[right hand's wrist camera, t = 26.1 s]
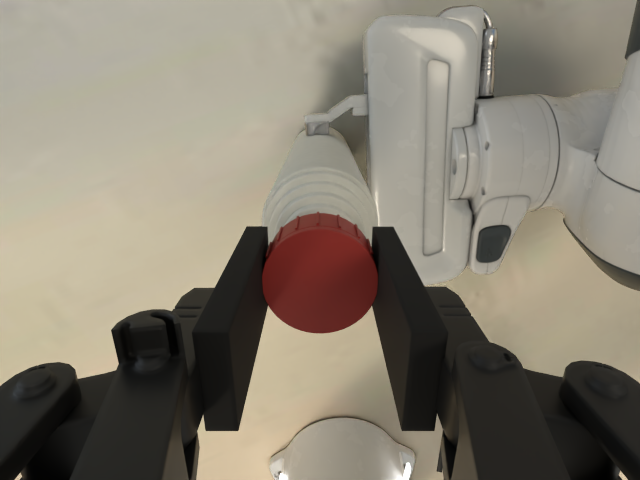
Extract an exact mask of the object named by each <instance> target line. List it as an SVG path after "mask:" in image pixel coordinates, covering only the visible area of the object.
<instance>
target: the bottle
mask: <svg viewBox="0 0 640 480" xmlns="http://www.w3.org/2000/svg"><path fill="white" fill-rule="evenodd" d="M317 212H319V213H327V214H333V215H337V214H338V215H340V217H342V218H344V219H346V220H348V221H350V222H351V223H353V224H354V225H355V224H357V226H358V228H359V229H360V230H361V232H362V233H363V234H364V236H365V237H366V239H369V241H370V244H371V246H372V227H378V213H377V208H376V205H375V202H374V200H373V198H372V195H371V193H370V191H369V189H368V187H367V185H366V183H365V181H364V178H363V176H362V174H361V172H360V170H359V168H358V166H357V164H356V161H355V159H354V157H353V155H352V153H351V151H350V149H349V147H348V144H347V142H346V140H345V139H344V137H343V136H342V135H341V134H340V133H339V132H338V131H337V130H335V129H333V128H331V127H329V134H328V135H320V134H318V133H317V134H316V135H313V136H306V132H305V130H303V131H302V132H301V133H300V134H299V135H298V136H297V137H296V139H295V140H294V142H293V145H292V147H291V149H290V151H289V153H288V155H287V157H286V159H285V162H284V164H283V166H282V168H281V170H280V172H279V174H278V176H277V179H276V181H275V183H274V185H273V187H272V189H271V191H270V193H269V196H268V198H267V200H266V202H265V205H264V209H263V213H262V227H268V244H269V243H270V242H272V241H273V239H274V237H275V236H276V234H277V233H278V232H279V230H280V227H281V226H282V227H284V226H285V225H286V224H287V223H289V222H290V221H292V220H294V219H296V218H297V216H299V217H301V216H303V215H307V214H313V213H317Z"/></svg>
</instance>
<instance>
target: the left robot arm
mask: <svg viewBox="0 0 640 480" xmlns="http://www.w3.org/2000/svg"><path fill="white" fill-rule="evenodd" d="M484 22H485V25H486V29H483V23H484ZM497 42H498V33H497V28H493V27H492V21H491V18H490V16H489V15H488V13H487V12H486V11H485V10H484V9H482V8H481V7H478V6H474V5H468V6H456V7H450V8H447V9H445V10H443V11H442V12H440V13H439V14H438V15H437V16H436V17H434V16H421V15H386V16H381V17H378V18H376V19H375V20H374V21H373V22H372V23H371V24H370V25H369V26H368V27H367V29H366V30H365V32H364V34H363V65H364V94H360V95H349V96H348V97H346V98H345V99H344V100H342V101H341V102H339V103H338V104H337V105H335V106H334V107H332V108H331V109H330V110H328V112H326V113H313V114H305V115H304V122H305V132H306V136H313V135H316V134H317V133H318V134H320V135H328V134H329V123H330V122H332V121H333V120H335V119H336V118H338V117H339V116H341V115H342V114H343V113H345V112H346V111H348V110H349V109H350V113H351V114H352V115H353V116H364V115H365V130H366V162H367V187H368V189H369V191H370V193H371V195H372V198H373V200H374V202H375V205H376V208H377V213H378V227H394V229H395V231H396V233H397V235H398V236H399V238H400V240H401V242H402V244H403V246H404V248H405V250H406V252H407V254H408V256H409V258H410V259H411V261H412V263H413V265H414V267H415V269H416V271H417V273H418V275H419V277H420V279H421V281H422V283H423V284H424V286H426V285H432V284H438V283H443V282H446V281H449V280H452V279H454V278H456V277H457V276H458V275H460V274H461V273H462V272H463V270H464V269H465V267H466V266H467V267H468V268H469V269H470V270H471V271H472V272H473V273H475V274H481V275H483V274H491V273H494V272H495V271H496V270H497V269H498V268H499V266H500V264H501V262H502V260H503V258H504V255H505V253H506V251H507V249H508V247H509V244H510V242H511V240H512V238H513V236H514V234H515V232H516V230H517V228H518V227H519V225H520V223H521V221H522V220H523V218H524V216H525V215H526V213H527V212H532V211H535V210H539V209H543V208H553V209H556V210H558V211H560V212H561V213H562V214H563V215H564V219H563V221H564V224H565V226H566V227H567V229H568V230H569V232H570V233H571V234H572V236H573V237H574V238H575V240H576V241H577V242H578V244H579V245H580V246H581V247H582V248H583V250H584V251H585V252H586V253H587V254H588V256H589V257H590V258H591V259H592V260H593V262H594V263H595V264H596V265H597V266H598V267H599V268H600V269H601V270H602V271H603V272H604V273H606V274H607V275H608V276H609V277H611V278H612V279H613V280H615V281H616V282H618V283H620V284H622V285H624V286H626V287H629V288H631V289H634V290H638V291H640V0H637V3H636V8H635V12H634V17H633V22H632V26H631V31H630V36H629V40H628V45H627V50H626V54H625V59H626V60H627V62H626V65H625V68H624V71H623V75H622V78H621V81H620V85H619V88H603V89H592V90H586V91H582V92H579V93H577V94H574V95H572V96H568V97H552V96H549V95H544V94H527V95H514V96H501V97H494V96H493V92H494V78H495V69H494V68H495V65H494V64H495V61H494V60H495V57H494V56H495V49H497ZM478 96H479V97H478ZM475 97H477V99H475ZM414 464H415V454H414V452H413V451H412V450H411V449H410V448H408V447H406V446H403V445H401V444H398V443H396V442H395V441H394V440H393V439H392V438H391V437H390V436H389V435H388V434H387V433H386V432H385V431H384V430H382V429H381V428H379V427H378V426H376V425H374V424H372V423H369V422H367V421H364V420H360V419H354V418H332V419H326V420H322V421H319V422H316V423H314V424H312V425H310V426H308V427H306V428H305V429H303V430H302V431H300V432H299V433H298V434H297V435H296V436H295V437H294V438H293V440H292V441H291V443H290V444H289V445H288V446H287V448H285V449H284V450H282V451H280V452H279V453H277V454H275V455H274V456H273V457H272V458H271V459H270V464H269V468H270V471H271V474H272V476H273V478H274V480H410V478H411V475H412V471H413V468H414Z"/></svg>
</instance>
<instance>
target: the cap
mask: <svg viewBox="0 0 640 480" xmlns="http://www.w3.org/2000/svg"><path fill="white" fill-rule="evenodd" d="M265 258H266V261H265V264H264V268H263V272H262V284H263V294H264V297H265V300H266V302H267V304H268V306H269V307H270V309H271V310H272V311H273V313H274V314H275V315H276V316H277V317H278V318H279V319H281V320H282V321H283V322H285V323H286V324H288V325H289V326H291V327H293V328H296V329H298V330H301V331H305V332H310V333H330V332H335V331H339V330H342V329H345V328H347V327H349V326H351V325H352V324H354V323H356V322H357V321H358V320H360V319H361V318H362V317H363V316H364V315H365V314H366V313H367V312H368V310H369V309H370V308H371V306H372V304H373V302H374V300H375V298H376V295H377V286H378V271H377V267H376V264H375V261H374V257H373V251H372V248H371V244H370V241H369V239H366V237H365V236H364V234H363V233H362V232H361V230H360V229H359V228H358V226H357V224H355V225H354V224H353V223H351V222H350V221H348V220H346V219H344V218H342V217H340V215H338V214H337V215H333V214H327V213H319V212H317V213H313V214H307V215H303V216H301V217H299V216H297V218H296V219H294V220H292V221H290V222H289V223H287V224H286V225H285V226H284V227H282V226H281V227H280V230H279V232H278V233H277V234H276V236H275V237H274V239H273V241H272V242H270V243H269V246H268V249H267V253H266V256H265Z"/></svg>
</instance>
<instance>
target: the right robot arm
mask: <svg viewBox="0 0 640 480" xmlns="http://www.w3.org/2000/svg"><path fill="white" fill-rule="evenodd" d="M268 246H269V244H268V227H246V229H245V231H244V233H243V235H242V237H241V239H240V241H239V242H238V244H237V246H236V248H235V250H234V252H233V254H232V256H231V258H230V260H229V262H228V264H227V266H226V267H225V269H224V271H223V273H222V275H221V277H220V279H219V281H218V283H217V285H216V287H215V288H194V289H192V290H191V291H189V292H188V293H187V294H185V295H184V296H182V297H181V299H180V300H179V302H178V303H177V305H176V306H175V309H173V311H168V310H148V311H142V312H138V313H136V314H133V315H130V316H128V317H126V318H125V319H123V320H121V321H120V322H118V323H117V324H116V325H115V326H114V328H113V329H112V330H111V331H112V336H113V340H114V344H115V349H116V353H117V357H118V362H119V365H118V367H117V370H116V371H112V372H108V373H105V374H100V375H95V376H90V377H86V378H81V379H78V378H77V375H76V371H75V369H74V368H73V367H72V366H71V365H69V364H65V363H60V362H57V363H46V364H42V365H39V366H34V367H31V368H29V369H27V370H25V371H23V372H21V373H19V374H16V375H15V376H13V377H12V378H11V379H9V380H8V381H6V382H5V383H3V384H2V385H1V386H0V480H14V479H15V478H16V477H17V476H18V475H19V473H20V472H21V474H22V478H21V479H20V480H196V476H197V466H198V457H199V440H198V433H197V430H198V427H199V424H200V422H201V419H202V416H203V415H204V422H205V429H206V431H238V430H239V426H240V421H241V417H242V413H243V409H244V404H245V400H246V396H247V392H248V388H249V383H250V379H251V375H252V371H253V367H254V362H255V358H256V354H257V350H258V345H259V341H260V337H261V333H262V329H263V324H264V320H265V316H266V312H267V307H268V304H267V302H266V300H265V297H264V294H263V284H262V272H263V268H264V264H265V261H266V258H265V256H266V253H267V249H268ZM371 248H372V251H373V257H374V261H375V264H376V267H377V271H378V286H377V295H376V298H375V300H374V302H373V304H372V307H373V311H374V315H375V320H376V324H377V328H378V332H379V336H380V341H381V345H382V349H383V353H384V358H385V362H386V366H387V370H388V374H389V379H390V383H391V387H392V391H393V395H394V400H395V404H396V408H397V412H398V417H399V421H400V425H401V429H402V431H434V430H435V423H436V416H437V414H438V416H439V419H440V422H441V425H442V428H443V433H442V440H441V446H440V453H439V459H438V466H437V472H442V469H443V475H444V480H622V479H621V478H620V476H619V472H620V470H621V471H622V473H623V474H624V475H625V476H626V477H627V479H628V480H640V384H639V383H638V382H637V381H636V380H634V379H633V378H631V377H630V376H629V375H627V374H626V373H624V372H622V371H620V370H617V369H615V368H613V367H611V366H609V365H606V364H602V363H598V362H592V361H577V362H572V363H570V364H569V365H568V366H567V367H566V369H565V372H564V376H563V377H558V376H553V375H548V374H543V373H539V372H534V371H531V370H527V369H524V368H523V367H522V364H521V363H520V361H519V360H518V359H517V357H516V356H515V355H514V354H513V353H511V352H510V351H508V350H507V349H506V348H503V347H501V346H499V345H496V344H494V343H490V342H489V341H488V339H487V338H486V336H485V335H484V333H483V332H482V330H481V329H480V327H479V326H478V324H477V323H476V321H475V320H474V318H473V317H472V316H471V314H470V312H469V311H468V309H467V308H465V304H464V303H463V301H462V300H461V298H460V297H459V295H457V294H456V293H454V292H453V291H451V290H450V289H448V288H447V287H425V286H424V284H423V283H422V281H421V279H420V277H419V275H418V273H417V271H416V269H415V267H414V265H413V263H412V261H411V259H410V258H409V256H408V254H407V252H406V250H405V248H404V246H403V244H402V242H401V240H400V238H399V236H398V235H397V233H396V231H395V229H394V227H372V246H371Z"/></svg>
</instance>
